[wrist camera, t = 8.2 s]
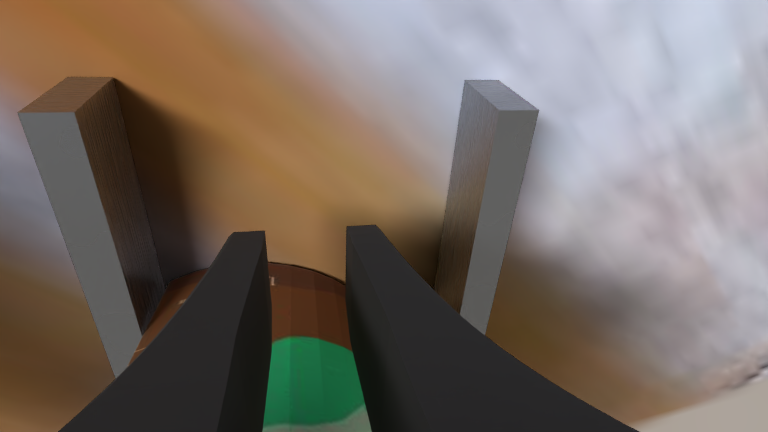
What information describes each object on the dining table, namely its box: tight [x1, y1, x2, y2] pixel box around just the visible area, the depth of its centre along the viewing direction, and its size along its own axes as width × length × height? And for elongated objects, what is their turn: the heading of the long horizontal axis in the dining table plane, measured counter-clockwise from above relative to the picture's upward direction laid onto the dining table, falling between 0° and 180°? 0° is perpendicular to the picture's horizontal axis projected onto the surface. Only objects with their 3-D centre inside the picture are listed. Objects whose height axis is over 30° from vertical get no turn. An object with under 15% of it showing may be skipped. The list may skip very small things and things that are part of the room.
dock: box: [18, 77, 539, 378], centre depth 14 cm, size 15×16×5 cm
